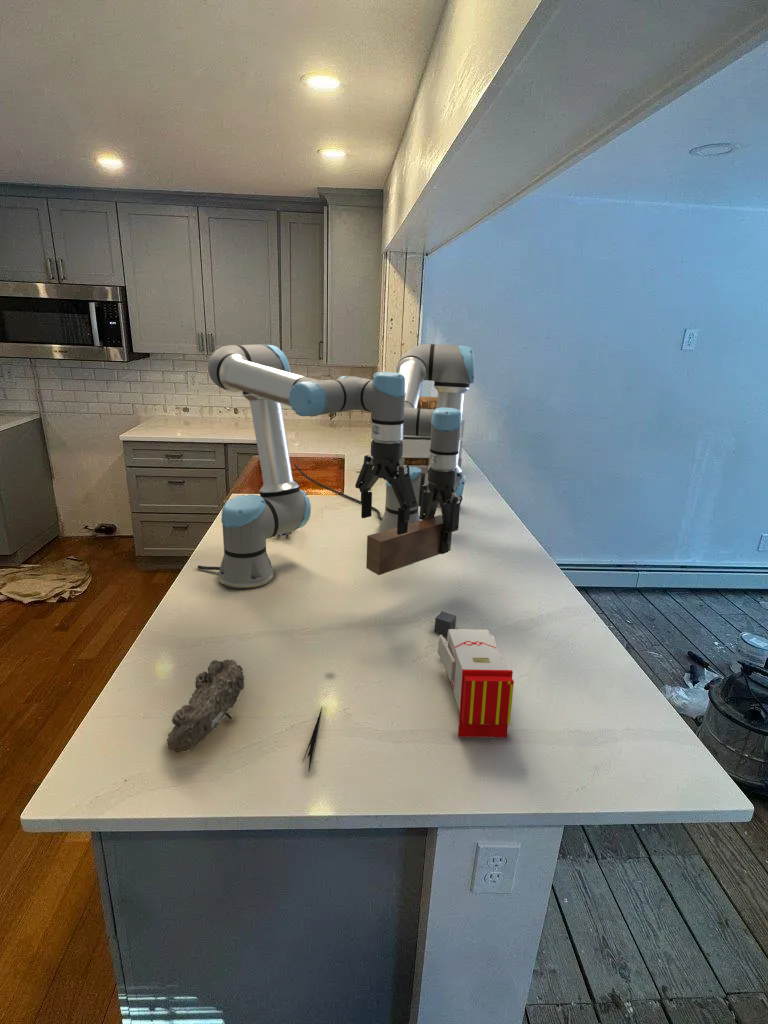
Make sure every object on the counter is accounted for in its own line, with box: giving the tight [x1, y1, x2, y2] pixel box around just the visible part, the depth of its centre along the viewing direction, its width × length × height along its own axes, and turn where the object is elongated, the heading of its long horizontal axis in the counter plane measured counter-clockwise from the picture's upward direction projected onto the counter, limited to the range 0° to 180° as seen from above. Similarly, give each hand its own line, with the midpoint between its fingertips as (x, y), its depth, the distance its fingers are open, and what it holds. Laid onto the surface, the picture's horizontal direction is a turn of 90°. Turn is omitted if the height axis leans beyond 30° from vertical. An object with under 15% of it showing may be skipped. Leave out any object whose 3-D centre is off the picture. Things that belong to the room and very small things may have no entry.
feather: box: [301, 673, 332, 771], centre depth 108 cm, size 2×28×2 cm
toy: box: [437, 628, 515, 738], centre depth 117 cm, size 12×13×30 cm
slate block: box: [433, 610, 458, 637], centre depth 140 cm, size 4×4×4 cm
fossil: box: [166, 658, 245, 754], centre depth 106 cm, size 22×10×15 cm
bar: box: [365, 514, 453, 576], centre depth 149 cm, size 26×5×9 cm, turn 131°
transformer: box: [399, 396, 465, 470], centre depth 268 cm, size 34×33×41 cm
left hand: (383, 525), depth 140 cm, fingers open, 13 cm apart
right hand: (436, 549), depth 157 cm, fingers closed on bar, 5 cm apart
